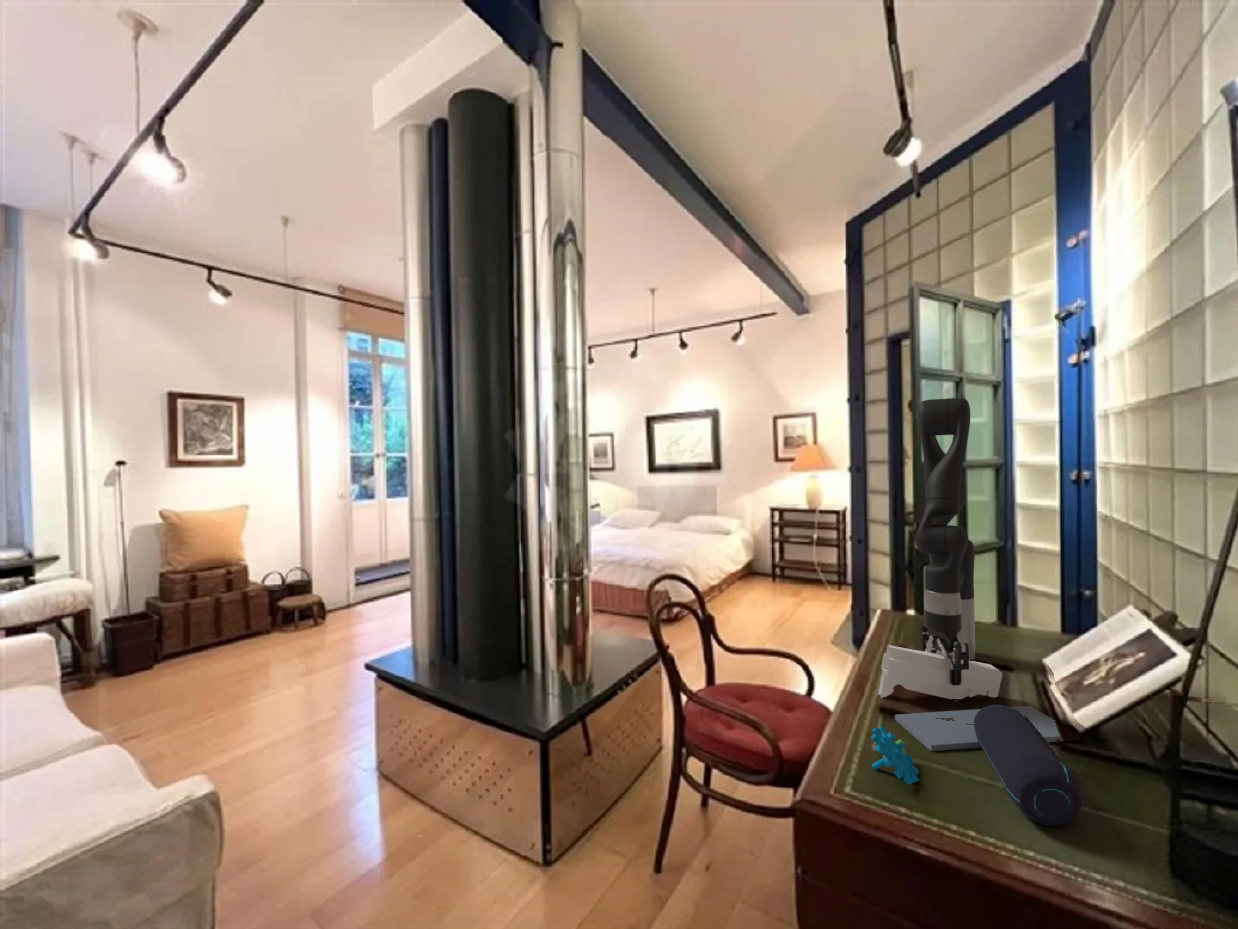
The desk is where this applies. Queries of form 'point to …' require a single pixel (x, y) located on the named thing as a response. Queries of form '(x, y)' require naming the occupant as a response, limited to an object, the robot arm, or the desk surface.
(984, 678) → the shelf bracket
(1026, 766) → the portable speaker
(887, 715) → the desk surface
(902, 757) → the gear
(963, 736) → the plate
